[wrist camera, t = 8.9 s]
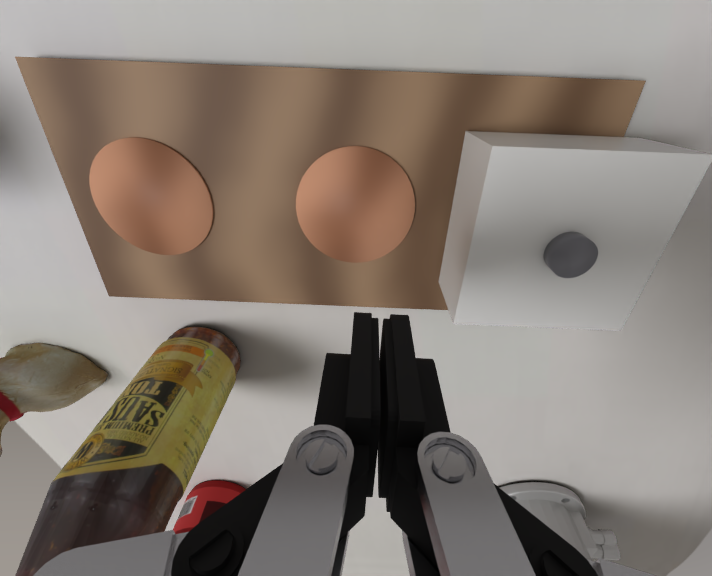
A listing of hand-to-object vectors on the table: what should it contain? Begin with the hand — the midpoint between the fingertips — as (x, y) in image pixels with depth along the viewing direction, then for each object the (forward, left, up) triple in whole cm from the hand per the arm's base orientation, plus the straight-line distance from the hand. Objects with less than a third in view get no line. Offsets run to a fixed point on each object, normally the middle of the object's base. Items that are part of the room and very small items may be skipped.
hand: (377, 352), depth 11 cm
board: (+3, -1, -13) cm, 13 cm away
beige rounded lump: (+26, +14, -13) cm, 33 cm away
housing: (-9, -1, -12) cm, 15 cm away
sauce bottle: (+13, +12, -13) cm, 22 cm away
